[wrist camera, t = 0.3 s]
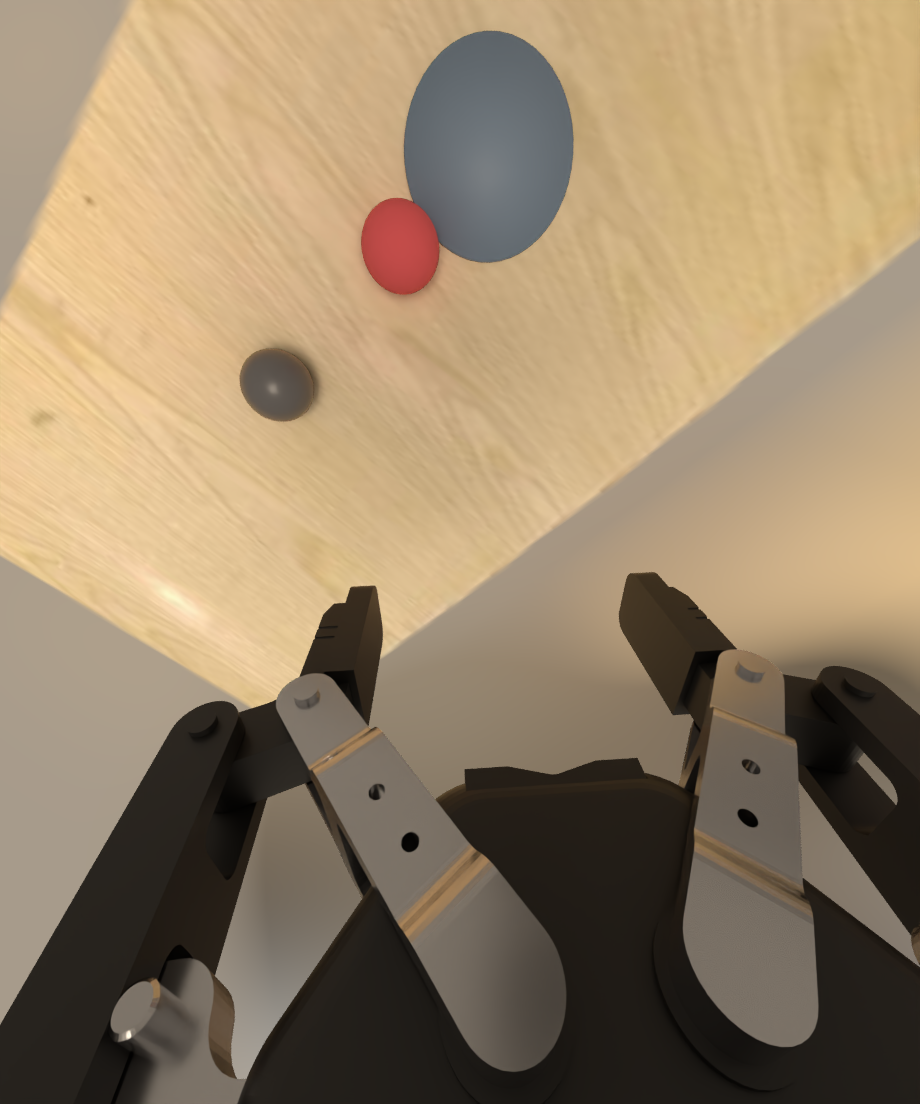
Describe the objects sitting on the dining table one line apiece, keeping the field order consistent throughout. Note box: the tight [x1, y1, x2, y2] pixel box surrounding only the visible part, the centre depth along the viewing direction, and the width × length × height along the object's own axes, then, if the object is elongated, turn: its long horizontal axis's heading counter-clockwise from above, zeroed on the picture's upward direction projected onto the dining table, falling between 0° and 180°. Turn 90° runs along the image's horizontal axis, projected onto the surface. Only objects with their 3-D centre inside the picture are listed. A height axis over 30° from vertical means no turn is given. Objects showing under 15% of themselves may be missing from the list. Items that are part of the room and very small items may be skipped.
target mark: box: [404, 31, 573, 262], centre depth 29 cm, size 12×12×1 cm
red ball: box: [361, 198, 439, 294], centre depth 29 cm, size 6×6×6 cm
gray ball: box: [240, 349, 314, 421], centre depth 33 cm, size 6×6×6 cm
